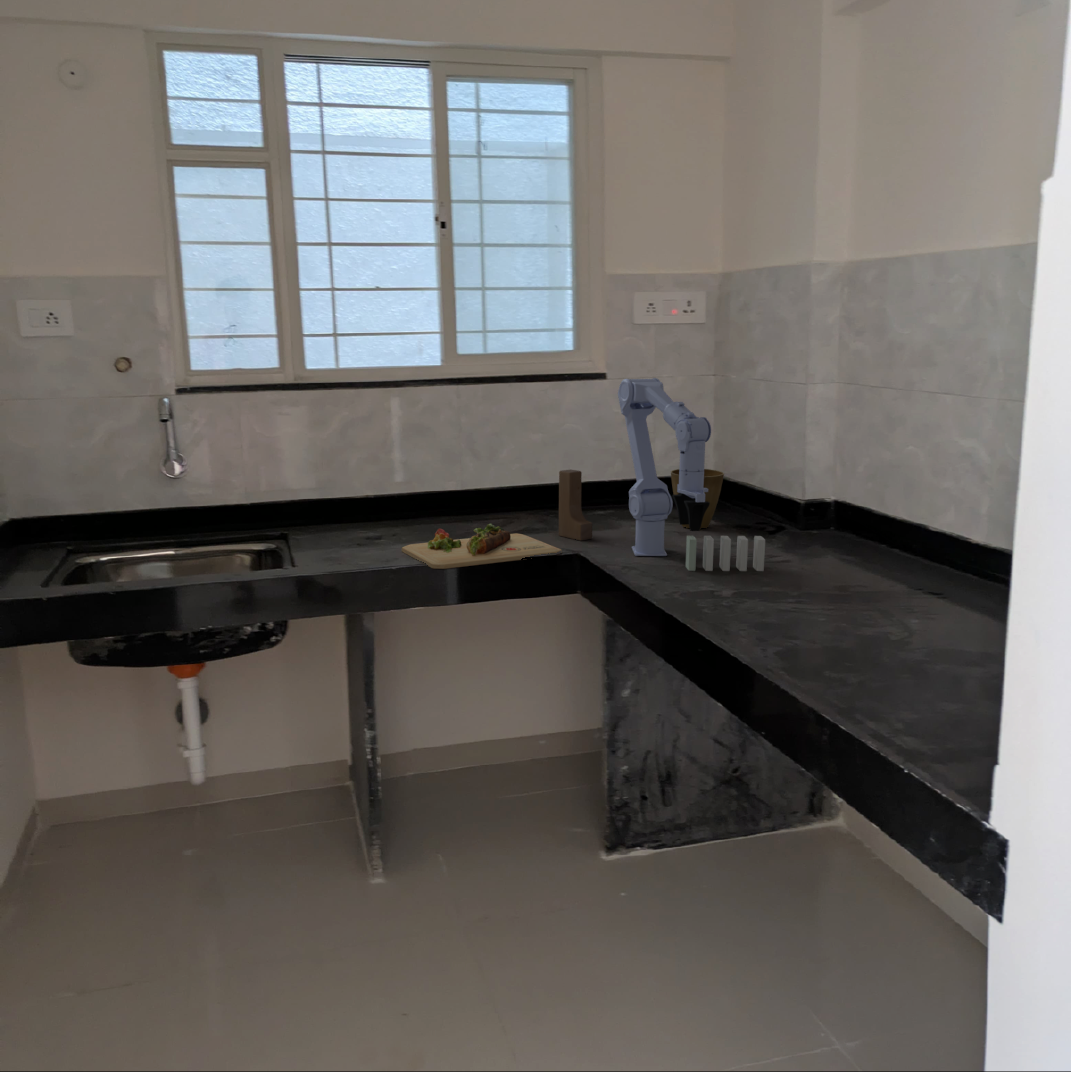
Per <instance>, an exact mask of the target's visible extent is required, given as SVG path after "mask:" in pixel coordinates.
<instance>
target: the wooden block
mask: <svg viewBox="0 0 1071 1072" xmlns="http://www.w3.org/2000/svg"><path fill="white" fill-rule="evenodd" d="M582 473H583V472H582V471H581V470H576V469H563V470H560V471H559V472H558V536H559V537H563V538H567V539H571V540H575V539H576V541H580V542H582V541H586V540H591V539H593V522H591V521H589V520H587V519H586V518H585V516H584V514H583V510H582Z"/></svg>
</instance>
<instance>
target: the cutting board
mask: <svg viewBox="0 0 1071 1072" xmlns="http://www.w3.org/2000/svg"><path fill="white" fill-rule="evenodd" d="M472 531H473V532H474V533H476V534H475V535H473V536H471V537H469V538H460V539H459V538H457V539H453V538H451V537H450V534H449V533H448V532H446V531H445V530H444V529H442V528H438V529H437V530H436V532H435V533H434V538H433V539H431V540H428V542H422V543H421V542H420V543H411V544H408V545H405V546H403V547H401V552H402V553H404V554H406V555H408V556H410V557H411V558H413V559H414V560H416V559H417V560H416V561H418V560H419V561H418V562H420V561H422V562H424V563H426V564H427V565H428V566H427V565H426V566H427V567H429V568H431V569H435V570H436V569H437V570H438V569H440V570H441V569H443V570H445V569H453V568H454V569H455V568H462V567H469V566H479V565H488V564H489V565H490V564H496V563H497V564H498V563H504V562H505V563H506V562H514V561H522V560H521V559H522V558H525V557H530V556H534V555H541V554H548V553H549V554H550V553H557V552H559V551H561V552H562V548H558V547H556V546H554V545H552V544H551V545H550V544H548V543H546V542H544V541H541V540H539V539H536V538H534V537H531V536H528V535H526V534H522V533H511V532H510V531H508V530H505V529H504V528H502V527H501V526H495V525H493V524H492V523H489V524H488V523H487V525H486V526H485V528H483V529H482V527H478V528H477V527H476V528H475V529H473V530H472ZM422 562H421V563H422ZM424 563H423V564H424Z"/></svg>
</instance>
